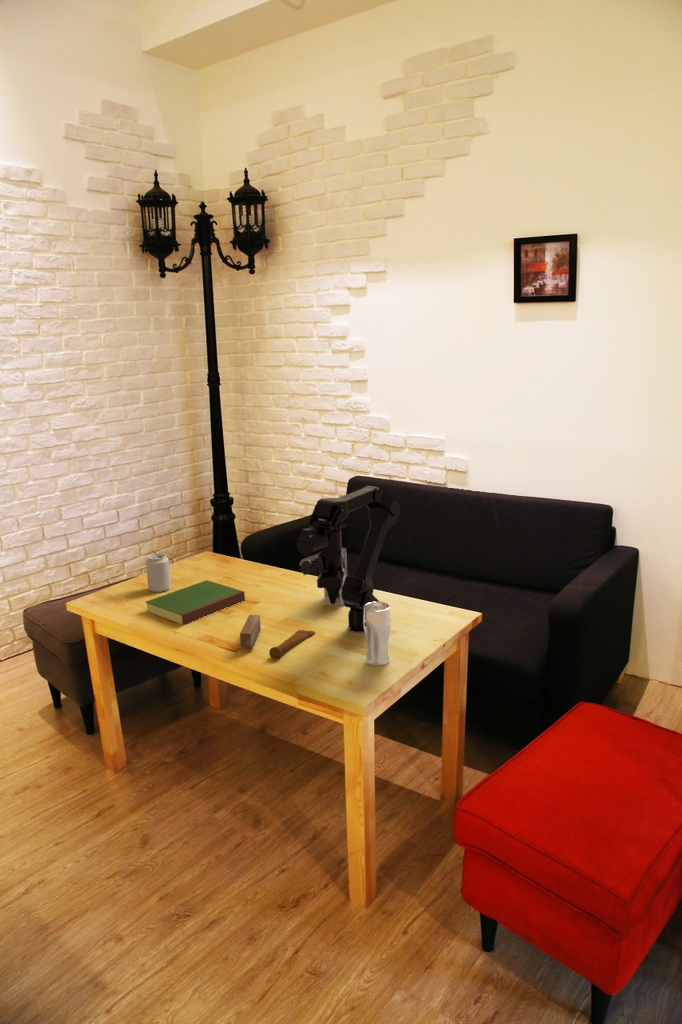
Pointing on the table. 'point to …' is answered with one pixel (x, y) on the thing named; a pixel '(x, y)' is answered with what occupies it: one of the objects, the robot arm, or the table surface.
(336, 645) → the table surface
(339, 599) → the coffee box
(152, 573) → the can
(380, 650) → the beer glass
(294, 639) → the primitive tool
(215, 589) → the hardcover book
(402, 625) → the table surface
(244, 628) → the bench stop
